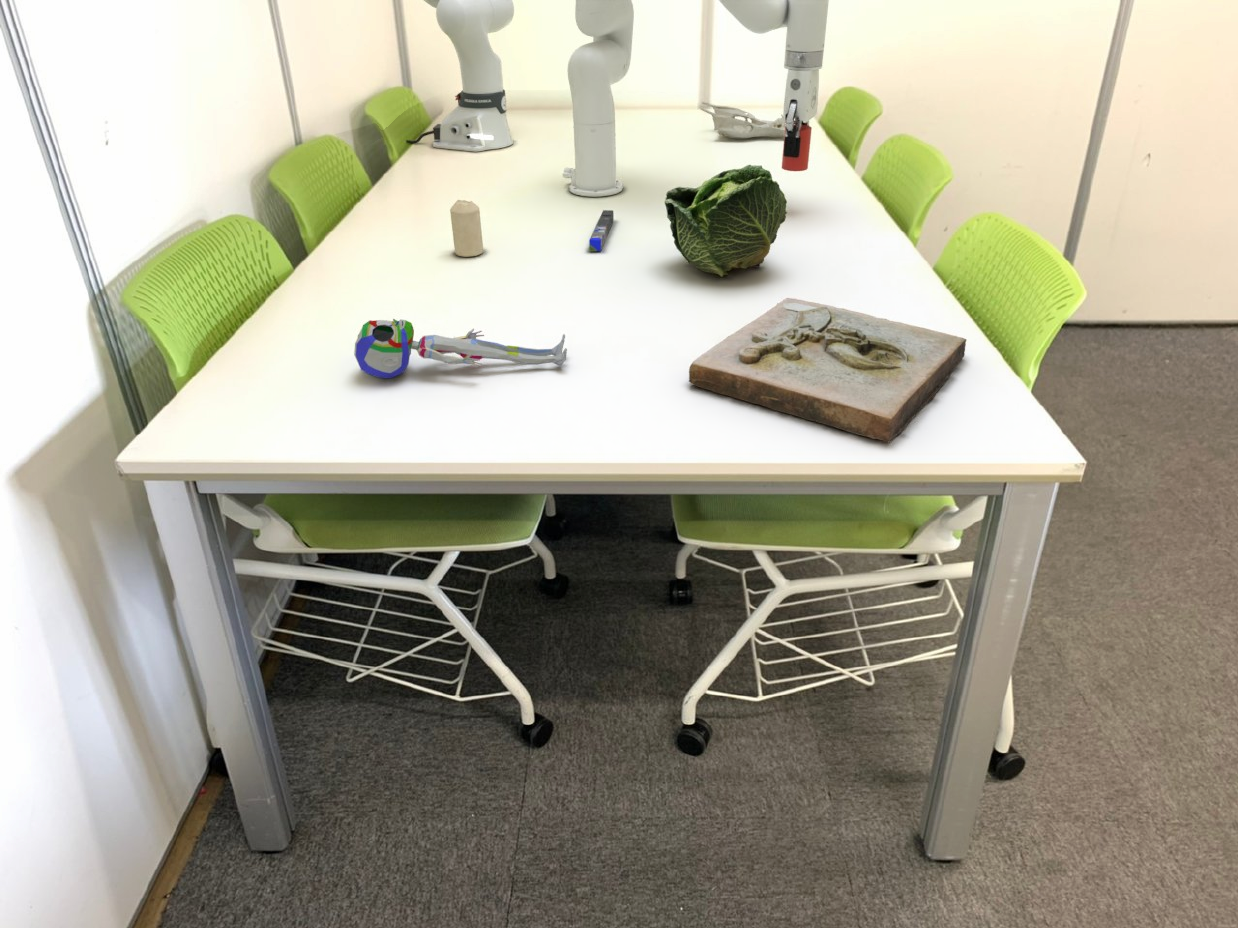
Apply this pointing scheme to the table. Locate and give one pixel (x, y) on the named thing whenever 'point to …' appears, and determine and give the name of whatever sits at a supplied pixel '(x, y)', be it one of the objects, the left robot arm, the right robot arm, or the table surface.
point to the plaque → (832, 366)
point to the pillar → (601, 230)
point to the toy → (435, 349)
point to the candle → (466, 228)
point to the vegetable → (727, 219)
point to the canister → (802, 160)
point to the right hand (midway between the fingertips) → (795, 152)
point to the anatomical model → (743, 123)
